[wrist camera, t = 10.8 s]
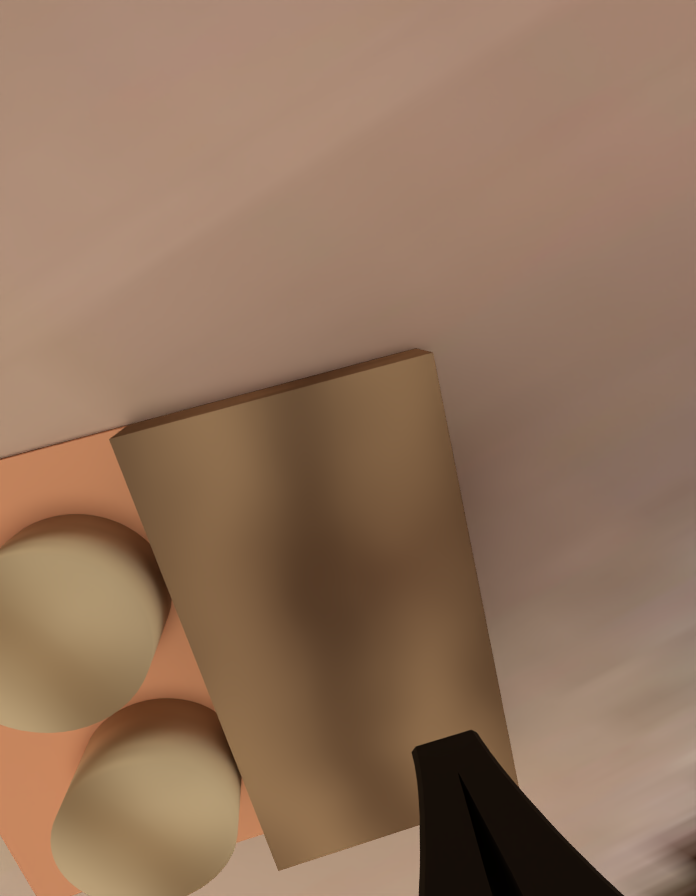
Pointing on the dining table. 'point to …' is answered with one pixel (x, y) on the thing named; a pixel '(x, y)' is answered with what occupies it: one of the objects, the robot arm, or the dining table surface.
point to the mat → (170, 676)
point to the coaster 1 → (76, 621)
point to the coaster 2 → (150, 803)
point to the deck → (323, 591)
